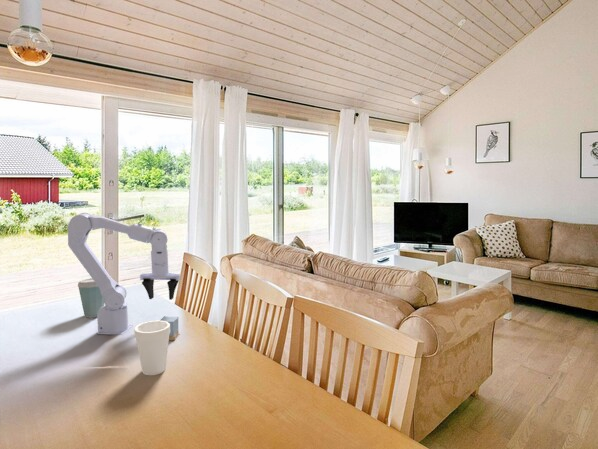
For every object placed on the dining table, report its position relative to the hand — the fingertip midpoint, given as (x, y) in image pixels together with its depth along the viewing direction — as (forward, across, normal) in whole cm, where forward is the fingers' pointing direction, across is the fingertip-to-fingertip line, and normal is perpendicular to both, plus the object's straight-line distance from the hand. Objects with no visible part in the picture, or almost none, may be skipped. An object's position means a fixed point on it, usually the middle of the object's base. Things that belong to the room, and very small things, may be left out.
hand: (161, 298), depth 144 cm
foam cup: (+11, +12, -33) cm, 37 cm away
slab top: (+10, +7, -11) cm, 16 cm away
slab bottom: (+11, +7, -11) cm, 17 cm away
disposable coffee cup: (+10, -32, +9) cm, 35 cm away
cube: (+9, +7, -11) cm, 16 cm away
